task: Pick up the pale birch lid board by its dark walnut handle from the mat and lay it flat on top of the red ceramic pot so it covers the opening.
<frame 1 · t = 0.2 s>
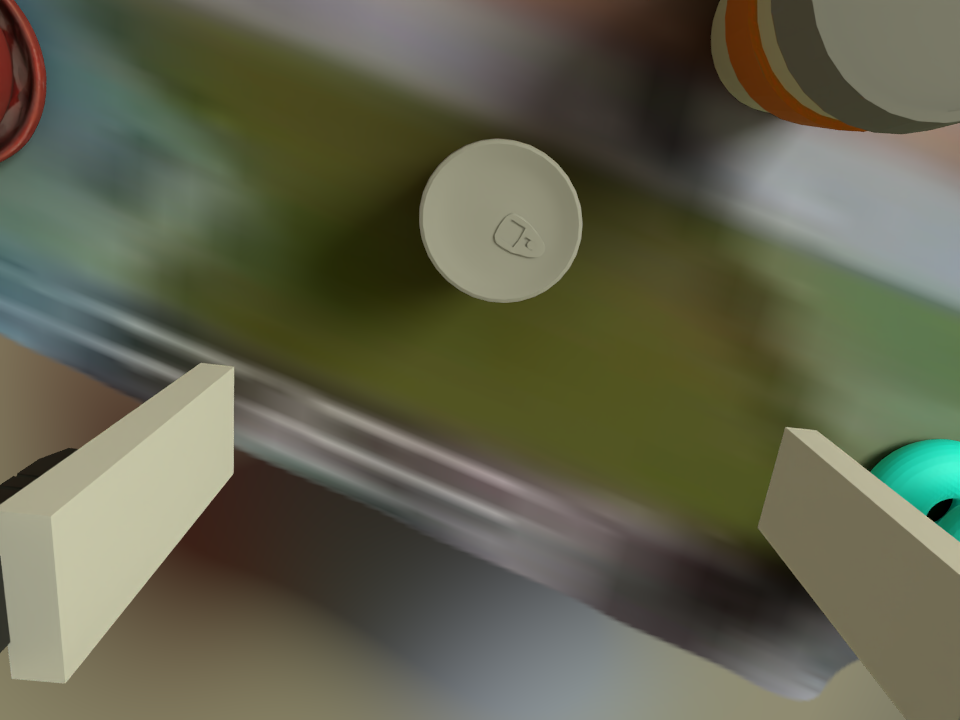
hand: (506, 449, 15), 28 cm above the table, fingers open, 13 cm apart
donuts: (914, 494, 47), on the table
canned food: (495, 209, 41), on the table
reusable coffee cup: (784, 33, 38), on the table
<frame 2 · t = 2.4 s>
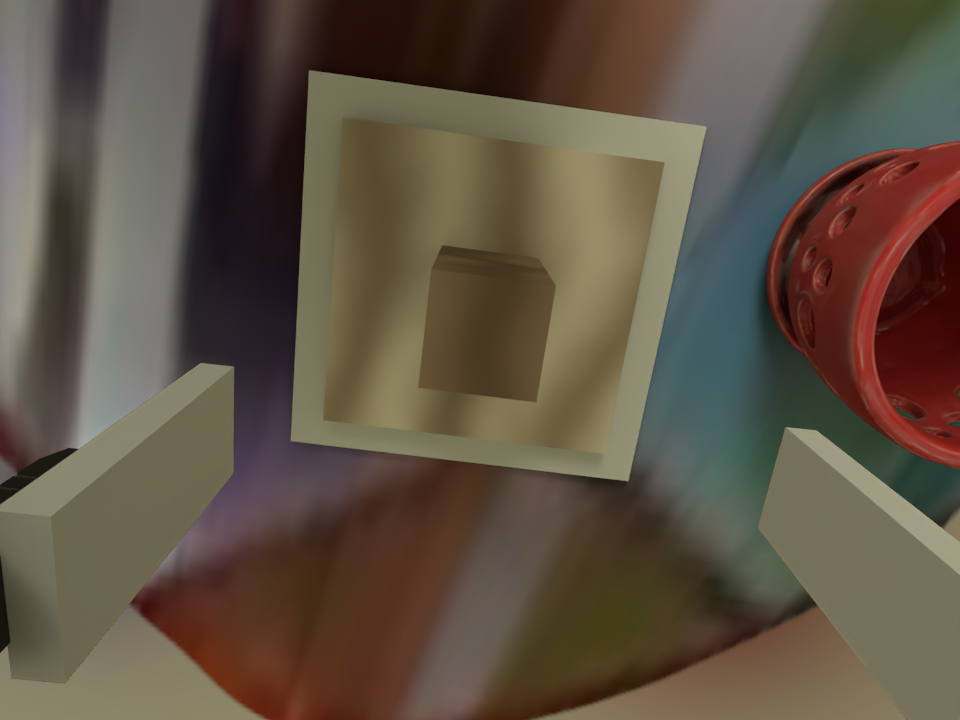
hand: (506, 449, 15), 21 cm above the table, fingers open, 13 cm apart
plant pot: (854, 267, 35), on the table
mat: (483, 293, 35), on the table
lid: (483, 295, 35), resting on mat
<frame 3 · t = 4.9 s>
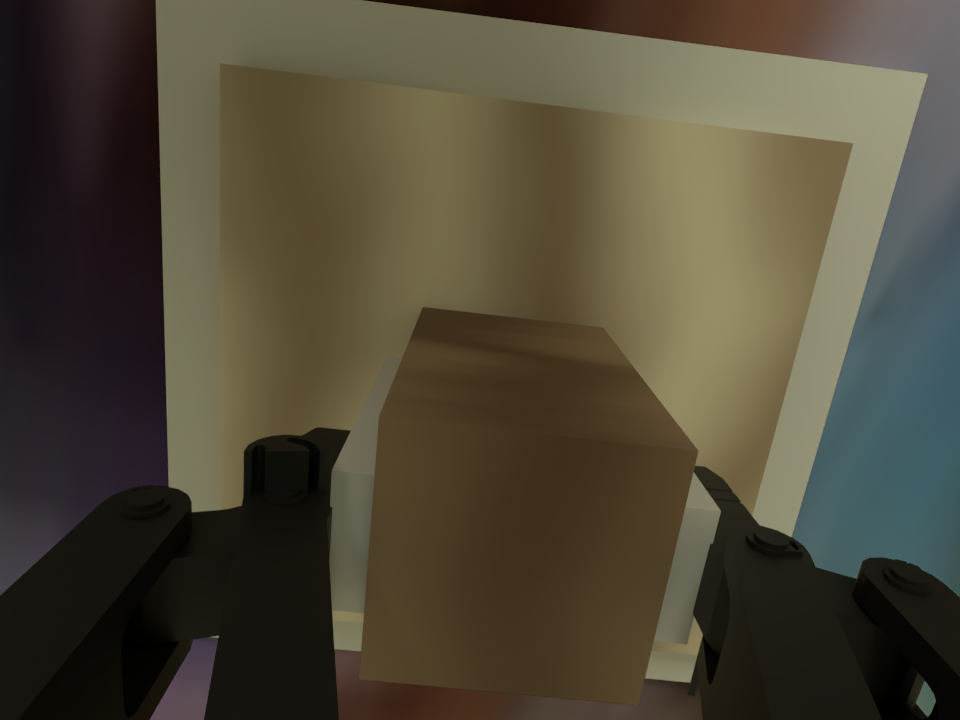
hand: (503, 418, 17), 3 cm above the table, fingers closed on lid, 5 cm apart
mat: (500, 385, 20), on the table
lid: (500, 390, 19), point 1 cm above the table, touching gripper, mat
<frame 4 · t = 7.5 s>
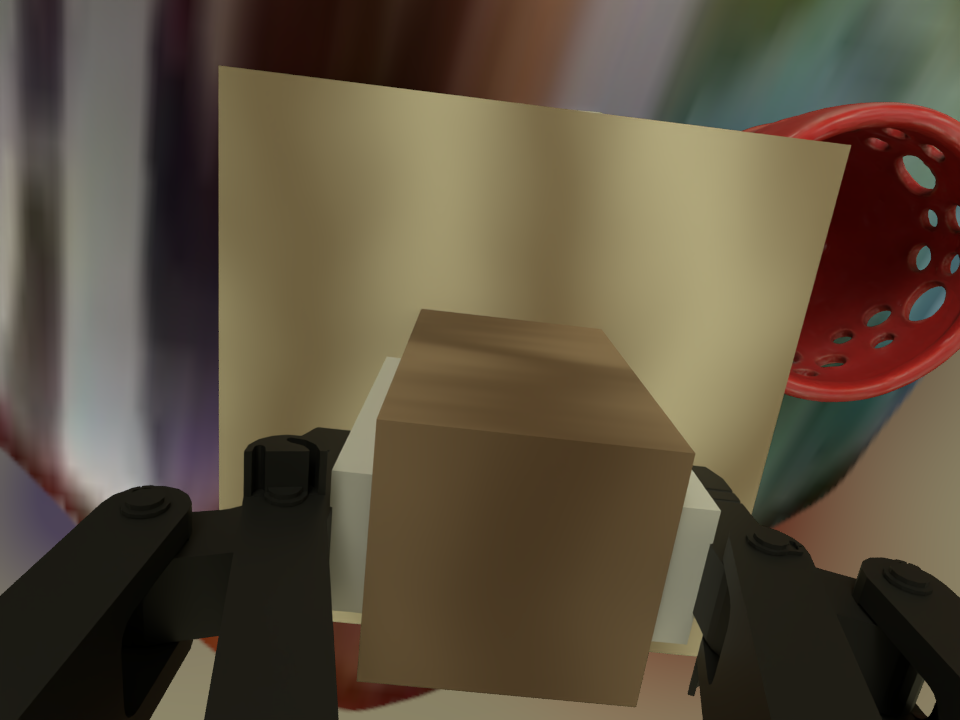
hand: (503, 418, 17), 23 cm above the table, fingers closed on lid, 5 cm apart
plant pot: (749, 232, 39), on the table
lid: (499, 391, 19), point 21 cm above the table, touching gripper
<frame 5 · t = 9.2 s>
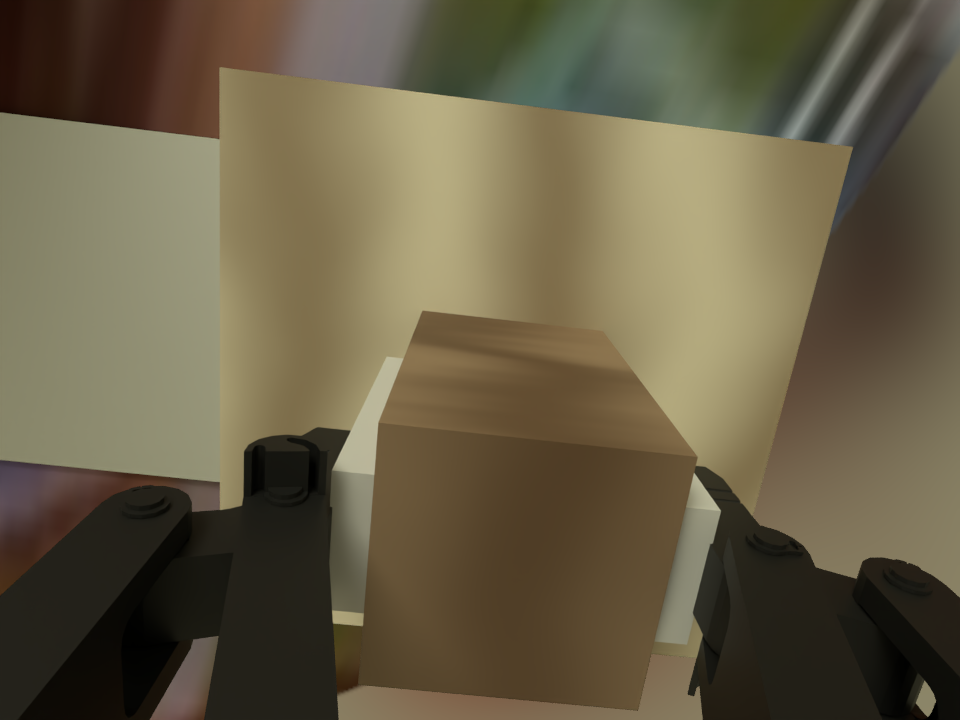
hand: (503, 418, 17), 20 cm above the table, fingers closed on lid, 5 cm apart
mat: (132, 312, 36), on the table
lid: (500, 393, 19), point 18 cm above the table, touching gripper
when the fingers open (16 cm above the table, at t = 10.3 s): lid drops 2 cm, resting on plant pot.
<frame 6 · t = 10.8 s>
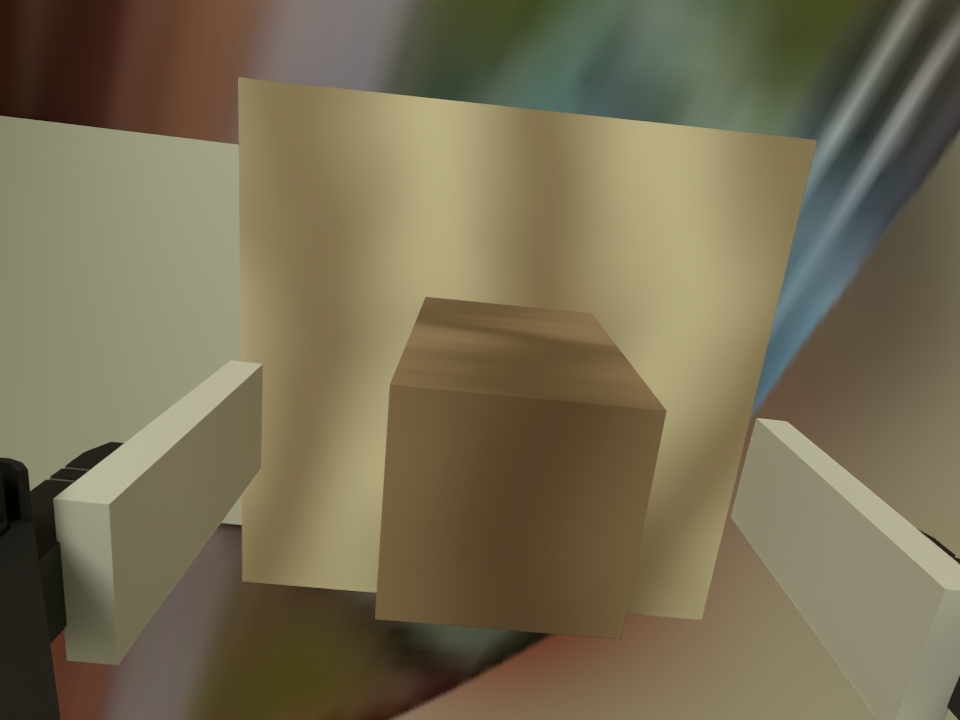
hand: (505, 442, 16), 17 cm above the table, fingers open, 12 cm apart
mat: (93, 332, 33), on the table
lid: (498, 373, 21), point 12 cm above the table, touching plant pot
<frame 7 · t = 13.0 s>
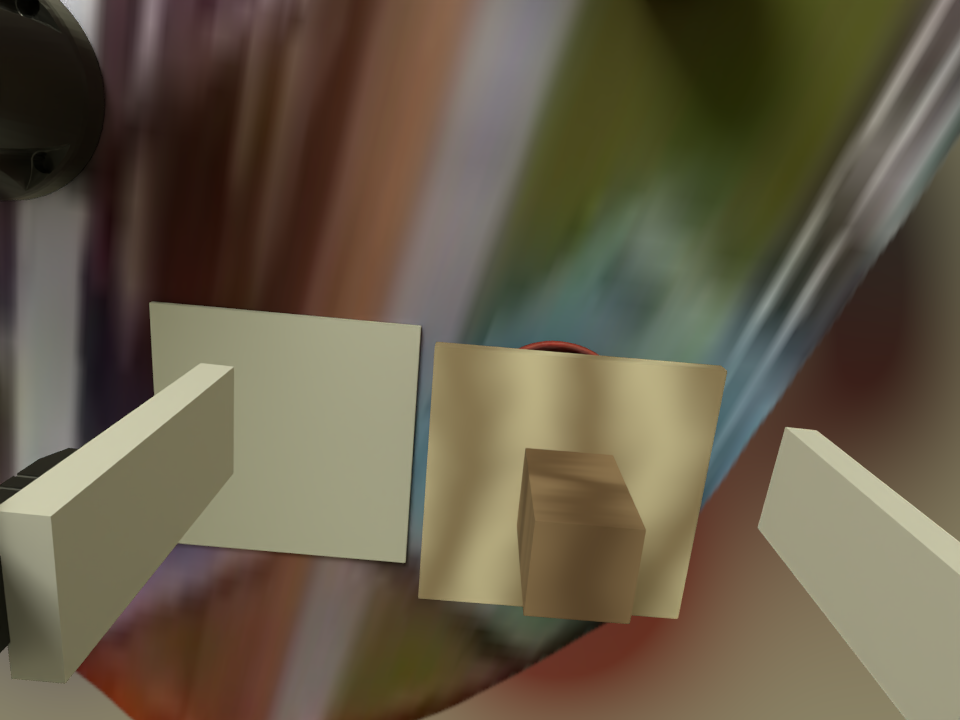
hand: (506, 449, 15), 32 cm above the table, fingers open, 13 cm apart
plant pot: (545, 411, 50), on the table, touching lid
mat: (286, 437, 50), on the table
lid: (561, 483, 38), point 12 cm above the table, touching plant pot
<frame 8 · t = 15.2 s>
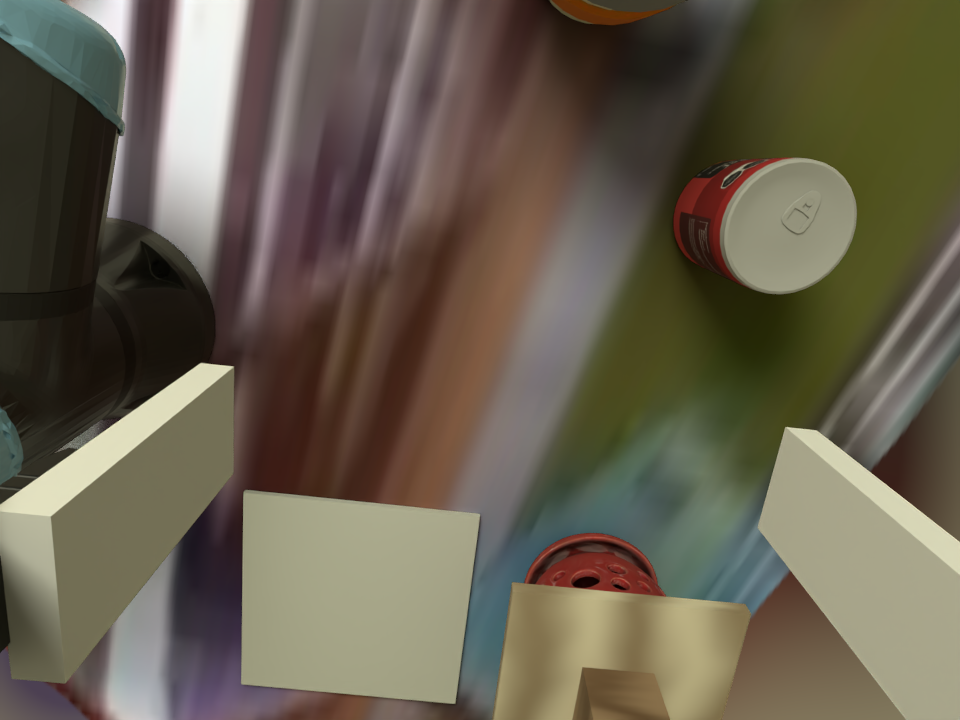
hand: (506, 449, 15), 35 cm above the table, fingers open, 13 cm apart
plant pot: (583, 582, 57), on the table, touching lid
canned food: (720, 214, 48), on the table
mat: (356, 600, 57), on the table
lid: (609, 688, 46), point 12 cm above the table, touching plant pot
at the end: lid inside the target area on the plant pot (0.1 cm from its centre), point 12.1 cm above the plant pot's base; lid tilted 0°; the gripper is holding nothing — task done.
